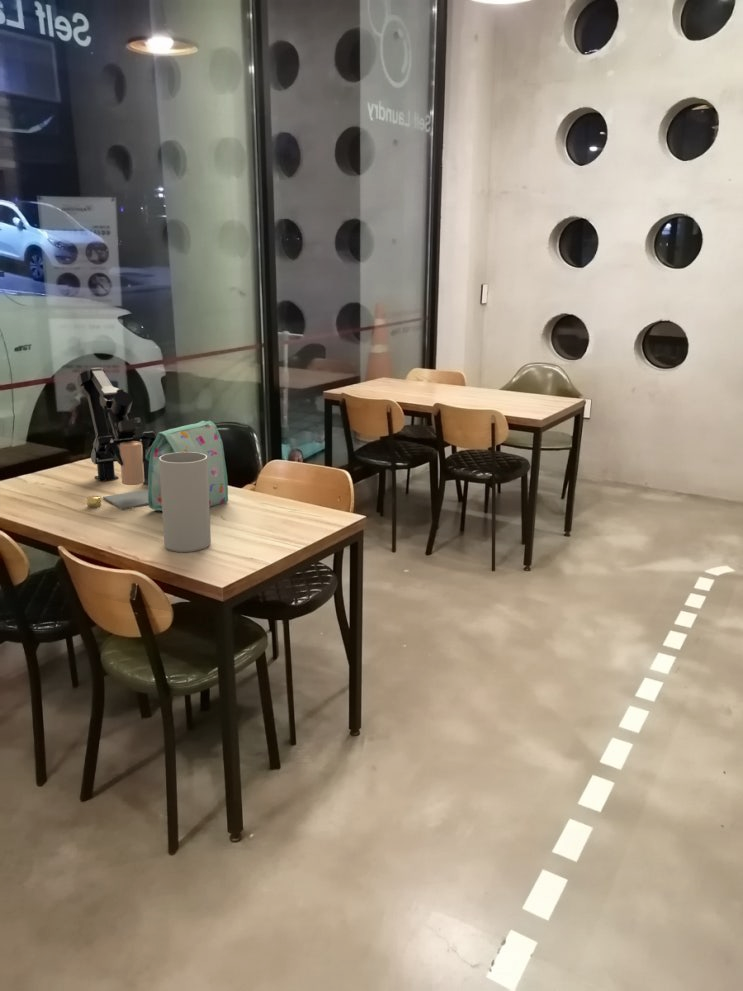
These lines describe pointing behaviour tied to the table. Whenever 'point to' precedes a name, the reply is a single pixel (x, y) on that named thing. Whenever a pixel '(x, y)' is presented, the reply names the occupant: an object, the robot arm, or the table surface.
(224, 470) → the lunch bag
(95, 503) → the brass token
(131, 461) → the terracotta cup
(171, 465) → the cylinder vase
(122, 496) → the slate mat
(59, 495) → the table surface
